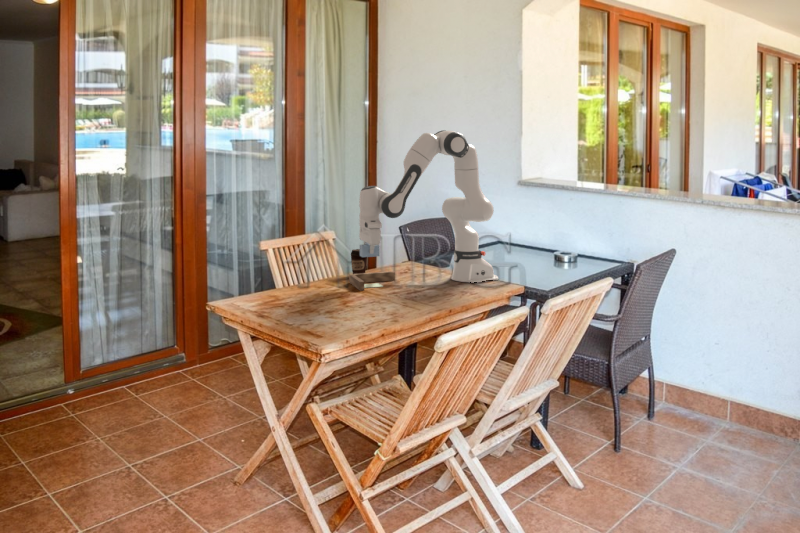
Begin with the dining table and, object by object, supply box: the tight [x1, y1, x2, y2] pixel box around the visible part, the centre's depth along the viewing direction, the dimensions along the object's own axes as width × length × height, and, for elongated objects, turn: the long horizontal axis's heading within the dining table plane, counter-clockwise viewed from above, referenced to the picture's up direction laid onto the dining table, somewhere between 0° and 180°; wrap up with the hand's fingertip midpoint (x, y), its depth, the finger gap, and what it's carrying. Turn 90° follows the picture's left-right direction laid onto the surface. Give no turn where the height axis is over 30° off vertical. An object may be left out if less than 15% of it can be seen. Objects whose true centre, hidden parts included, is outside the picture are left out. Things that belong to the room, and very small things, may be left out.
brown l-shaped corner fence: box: [348, 270, 396, 292], centre depth 347 cm, size 22×18×4 cm
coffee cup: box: [350, 248, 368, 274], centre depth 366 cm, size 9×8×13 cm
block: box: [359, 244, 380, 258], centre depth 342 cm, size 4×8×5 cm, turn 110°
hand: (369, 252), depth 342 cm, fingers closed on block, 4 cm apart
